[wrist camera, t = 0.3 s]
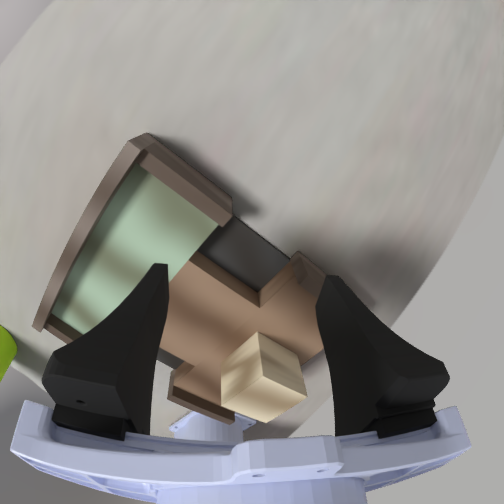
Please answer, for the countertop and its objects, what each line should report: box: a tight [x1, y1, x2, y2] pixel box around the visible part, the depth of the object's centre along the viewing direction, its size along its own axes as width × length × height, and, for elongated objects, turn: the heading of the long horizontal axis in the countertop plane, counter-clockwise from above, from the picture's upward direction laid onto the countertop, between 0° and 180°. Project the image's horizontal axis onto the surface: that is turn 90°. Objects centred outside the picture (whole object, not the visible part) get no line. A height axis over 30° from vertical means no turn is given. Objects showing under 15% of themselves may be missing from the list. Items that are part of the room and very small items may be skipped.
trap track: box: [32, 133, 327, 425], centre depth 25 cm, size 19×23×4 cm
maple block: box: [221, 332, 308, 423], centre depth 25 cm, size 5×5×5 cm
